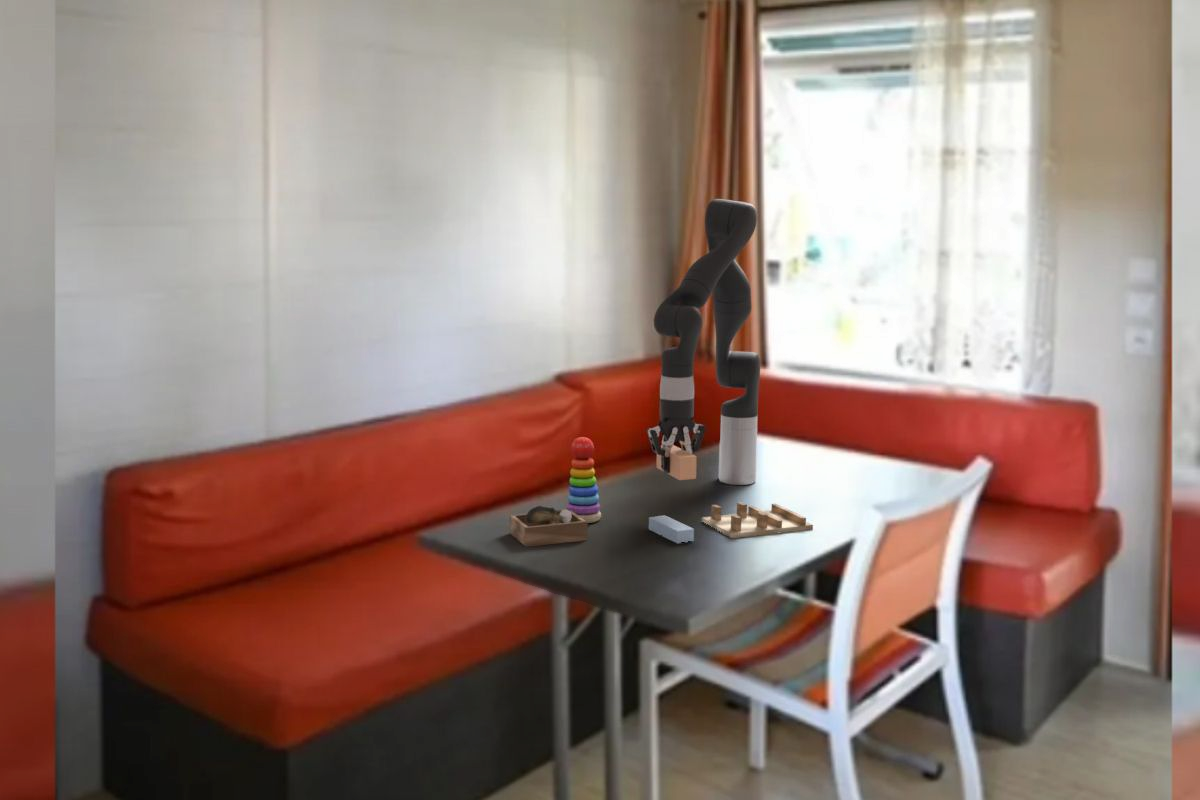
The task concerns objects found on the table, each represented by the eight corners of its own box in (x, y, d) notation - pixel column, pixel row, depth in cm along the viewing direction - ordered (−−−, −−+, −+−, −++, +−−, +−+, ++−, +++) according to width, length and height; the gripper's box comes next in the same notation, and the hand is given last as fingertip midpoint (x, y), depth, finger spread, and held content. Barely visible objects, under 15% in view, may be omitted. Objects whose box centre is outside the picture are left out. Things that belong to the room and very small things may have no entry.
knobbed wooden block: (656, 467, 271) (656, 439, 269) (672, 466, 272) (672, 438, 271) (679, 480, 260) (680, 451, 258) (696, 478, 261) (696, 449, 260)
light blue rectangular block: (648, 530, 260) (648, 517, 260) (664, 528, 262) (664, 515, 262) (677, 545, 250) (677, 531, 249) (693, 542, 252) (693, 528, 251)
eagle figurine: (538, 522, 259) (517, 524, 251) (556, 496, 258) (535, 497, 250) (563, 545, 256) (542, 547, 248) (581, 519, 255) (560, 521, 247)
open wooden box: (509, 533, 256) (509, 515, 256) (569, 527, 261) (569, 509, 261) (525, 546, 247) (525, 528, 246) (587, 540, 252) (587, 521, 251)
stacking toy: (606, 516, 270) (606, 435, 267) (594, 525, 263) (594, 442, 259) (573, 513, 273) (573, 433, 269) (560, 522, 265) (560, 439, 262)
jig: (701, 521, 266) (702, 504, 266) (779, 513, 274) (780, 496, 273) (731, 538, 254) (732, 520, 253) (812, 529, 261) (813, 511, 261)
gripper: (698, 390, 269) (697, 464, 272) (640, 394, 263) (639, 470, 267) (713, 396, 262) (712, 472, 265) (654, 400, 257) (653, 478, 260)
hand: (675, 471), depth 266 cm, fingers closed on knobbed wooden block, 4 cm apart
